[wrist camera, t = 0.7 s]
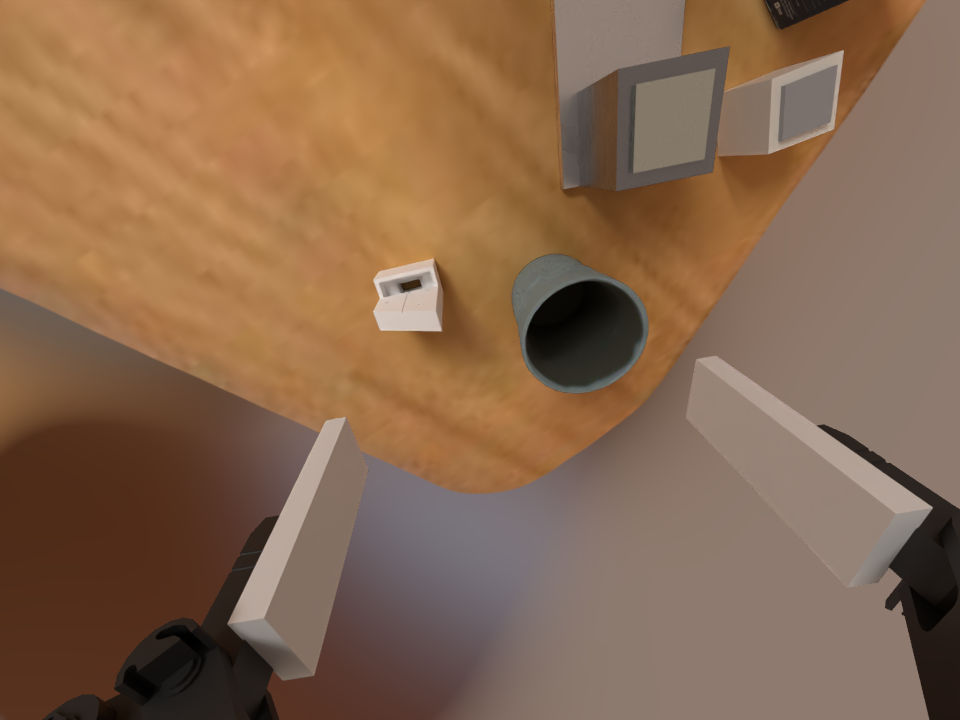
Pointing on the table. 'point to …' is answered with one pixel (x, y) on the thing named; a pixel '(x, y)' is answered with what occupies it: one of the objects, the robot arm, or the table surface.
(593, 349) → the grey green plant pot
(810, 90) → the block
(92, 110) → the table surface
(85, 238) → the table surface
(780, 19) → the box
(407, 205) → the table surface
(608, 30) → the rail plate
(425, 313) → the white slotted bracket
